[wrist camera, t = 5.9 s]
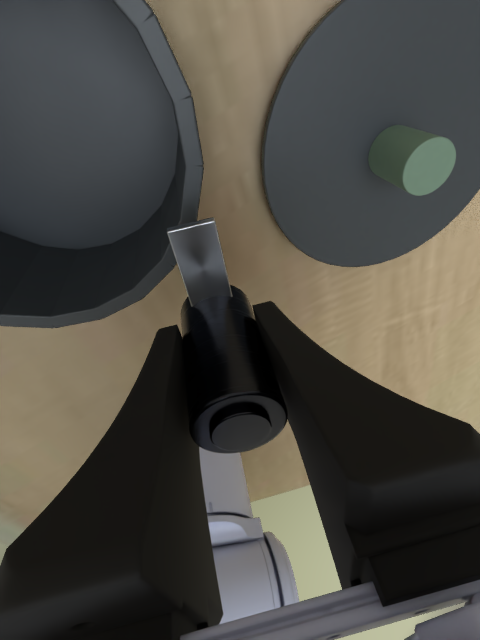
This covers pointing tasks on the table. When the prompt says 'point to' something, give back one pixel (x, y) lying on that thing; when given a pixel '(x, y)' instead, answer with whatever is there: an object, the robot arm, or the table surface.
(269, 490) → the table surface
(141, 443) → the robot arm
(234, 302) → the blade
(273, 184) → the bowl lid
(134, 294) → the bowl
